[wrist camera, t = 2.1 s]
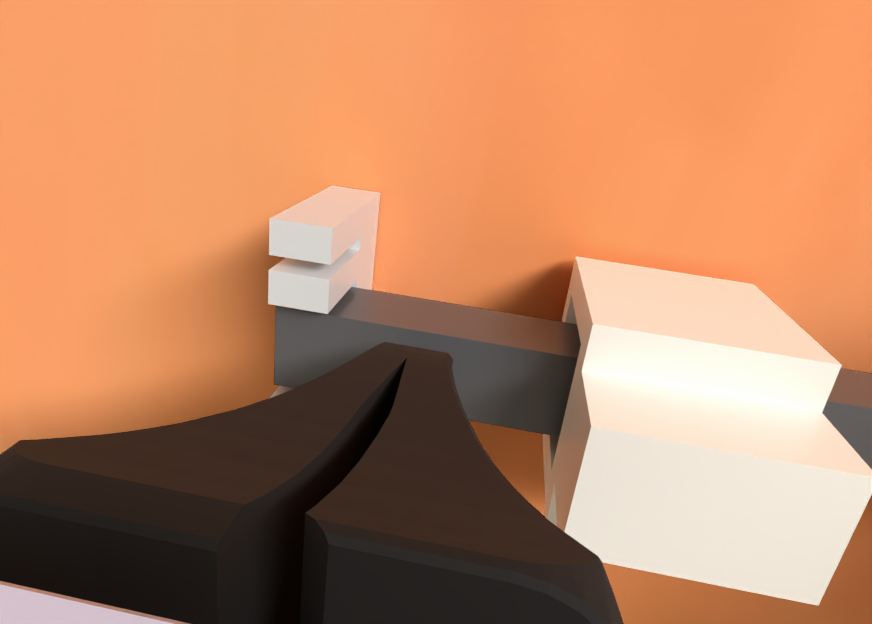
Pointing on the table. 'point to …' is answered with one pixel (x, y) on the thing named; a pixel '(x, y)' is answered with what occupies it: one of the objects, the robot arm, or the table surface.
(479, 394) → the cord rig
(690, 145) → the table surface
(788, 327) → the sleeve
